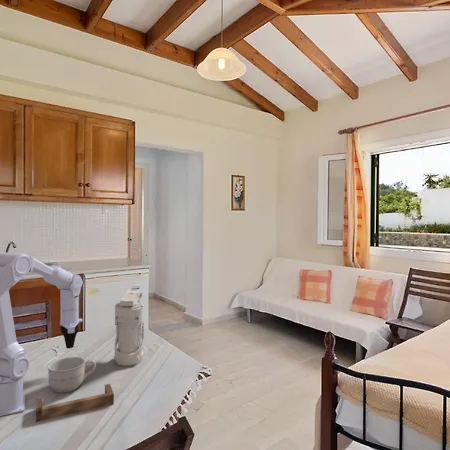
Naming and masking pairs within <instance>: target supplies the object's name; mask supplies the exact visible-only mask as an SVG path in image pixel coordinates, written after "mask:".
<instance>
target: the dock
mask: <svg viewBox="0 0 450 450" xmlns="http://www.w3.org/2000/svg"><path fill="white" fill-rule="evenodd" d="M114 396H115V393H114V390H113V389H112V385H111V383H107V384H104V393H100V394H97V395H93V396H87V397H81V398H78V399H74V400H69V401H68V400H67V401H63V402H60V403H55V404H50V405H45V406H43V397H38V398H36V399H35V400H36V401H35V423H38V422H43V421H47V420H51V419H55V418H56V419H57V418H61V417H65V416H69V415H72V414H74V415H75V414H76V413H82V412H87V411H90V410H94V409H99V408H103V407H108V406H113V405H115V402H114V398H115V397H114Z"/></svg>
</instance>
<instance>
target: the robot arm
mask: <svg viewBox="0 0 450 450" xmlns="http://www.w3.org/2000/svg"><path fill="white" fill-rule="evenodd" d="M28 273H34V274H36V275H39V276H42V278H43V280H44V282H46V283H49V284H51V285H52V286H56V288H57V289H58V290H60V321H59V325H60V332H61V333H62V335H63V338H64V343H65V348H66V349H67V350H69V349H70V348H72V349H74V347H73V346H75V343H76V337H77V335H78V332H79V330H80V327H79V323H82V322H83V318H79V316H80V315H79V314H80V313H79V312H80V311H79V310H80V309H79V308H80V306H79V305H80V304H79V301H80V299H79V298H80V297H79V295H81V289H82V286H83V284H84V283H83V282H84V280H82V277H81V276H80V275H79V274H77V273H71V270H68V269H64V268H62V265H60V264H53V265H47V264H45V263H43V262H42V261H40V260H39V259H37V258H35V257H34V256H33V255H28V254H27V253H15V252H5V251H0V417H2V416H6V415H7V416H8V415H12V414H16V413H21V412H22V413H23V412H24V411H25V406H26V396H25V395H24V384H23V383H24V377H25V376H26V374H27V372H28V370H29V367H30V359H29V356H27V355H26V351H25V349H24V347H22V346H21V344H19V343H18V341H17V335H16V329H15V322H14V315H13V309H12V304H11V303H12V302H11V298H10V297H11V296H10V289H11V288H12V287H14V286H15V285H16V284H17V283H18V282H20V280H22V279H23V278H24V277H25V276H26V275H27V274H28Z"/></svg>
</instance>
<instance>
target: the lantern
mask: <svg viewBox="0 0 450 450" xmlns="http://www.w3.org/2000/svg"><path fill="white" fill-rule="evenodd" d="M141 290H142V289H141V288H139V289H138V288H137V289H134V290H133V289H132V288H129V289H127V290H126V292H125V293H124V294H123V296H122V297H121V299H120V300H119V301H120V302H118V303H115V304H114V305H115V306H114V325H115V328H116V330H115V331H116V333H115V335H116V336H115V337H116V338H115V342H114V356H113V360H114V361H115V363H116V364H117V365H119V366H124V367H125V366H127V367H128V366H134V365H138V364H140V363H141V362H142V361H143V359H144V353H145V352H144V351H143V348H144V344H145V343H144V342H145V338H144V337H145V336H144V335H145V321H143V310H144V309H145V304H144V303H143V302H142V297H143V292H142V291H141Z"/></svg>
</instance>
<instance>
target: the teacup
mask: <svg viewBox="0 0 450 450" xmlns="http://www.w3.org/2000/svg"><path fill="white" fill-rule="evenodd" d="M89 364H92V367H91V368H90V369H89V370H88V371H86V369H87V366H88V365H89ZM96 368H97V363H96V361H95V360H94V359H88V360H85V358H82V357H78V356H72V357H71V356H69V357H63V358H59V359H58V360H56V361H55V360H53V361H51V362H50V364H48V366H47V370H48V373H47V374H48V375H47V376H48V383H49V385H48V386H49V387H50V388H51V390H54V391H55V392H58V393H68V392H71V391H74V390H77V389H78V388H79V387H80V385H82V384H83V382H84V380H86V378H88V376H89V375H91V374H92V373H93V372H94V371H95V369H96Z"/></svg>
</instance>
